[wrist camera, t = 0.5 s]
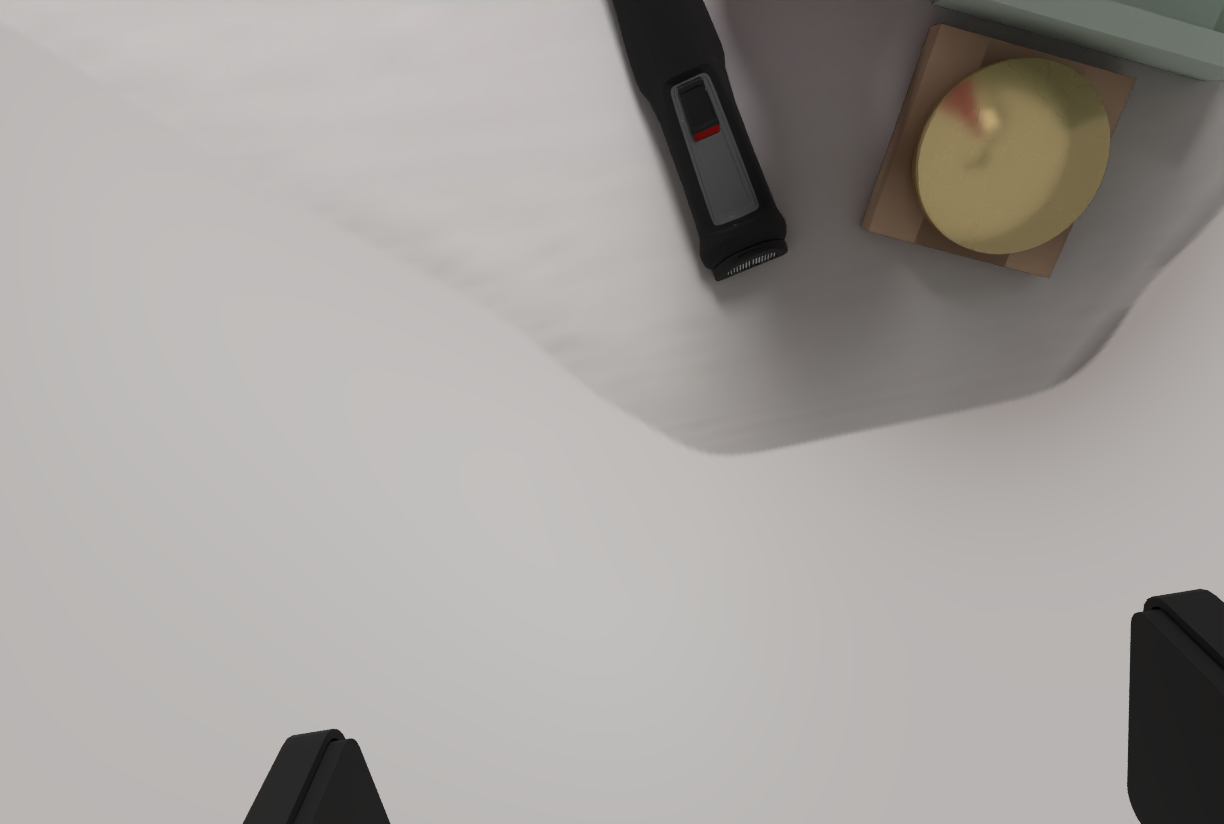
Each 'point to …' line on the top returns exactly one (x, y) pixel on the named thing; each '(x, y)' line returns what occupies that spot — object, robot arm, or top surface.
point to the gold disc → (1011, 155)
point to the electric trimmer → (703, 131)
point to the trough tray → (1122, 28)
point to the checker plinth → (935, 73)
